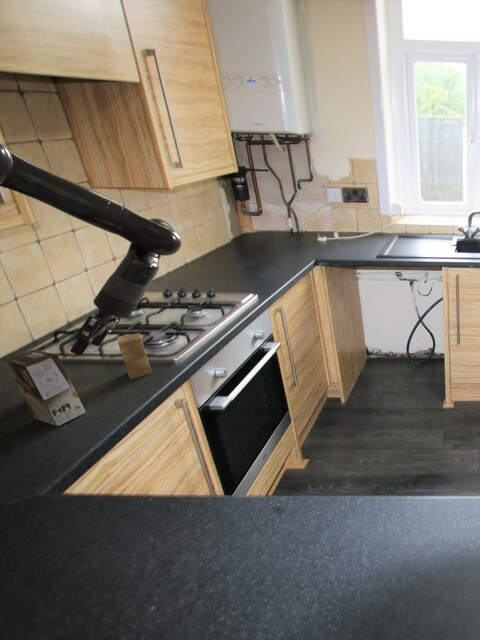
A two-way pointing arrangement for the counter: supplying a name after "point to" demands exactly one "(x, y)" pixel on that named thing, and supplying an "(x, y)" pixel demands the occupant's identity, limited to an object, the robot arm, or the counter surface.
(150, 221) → the robot arm
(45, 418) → the coffee box
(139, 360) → the birch block
